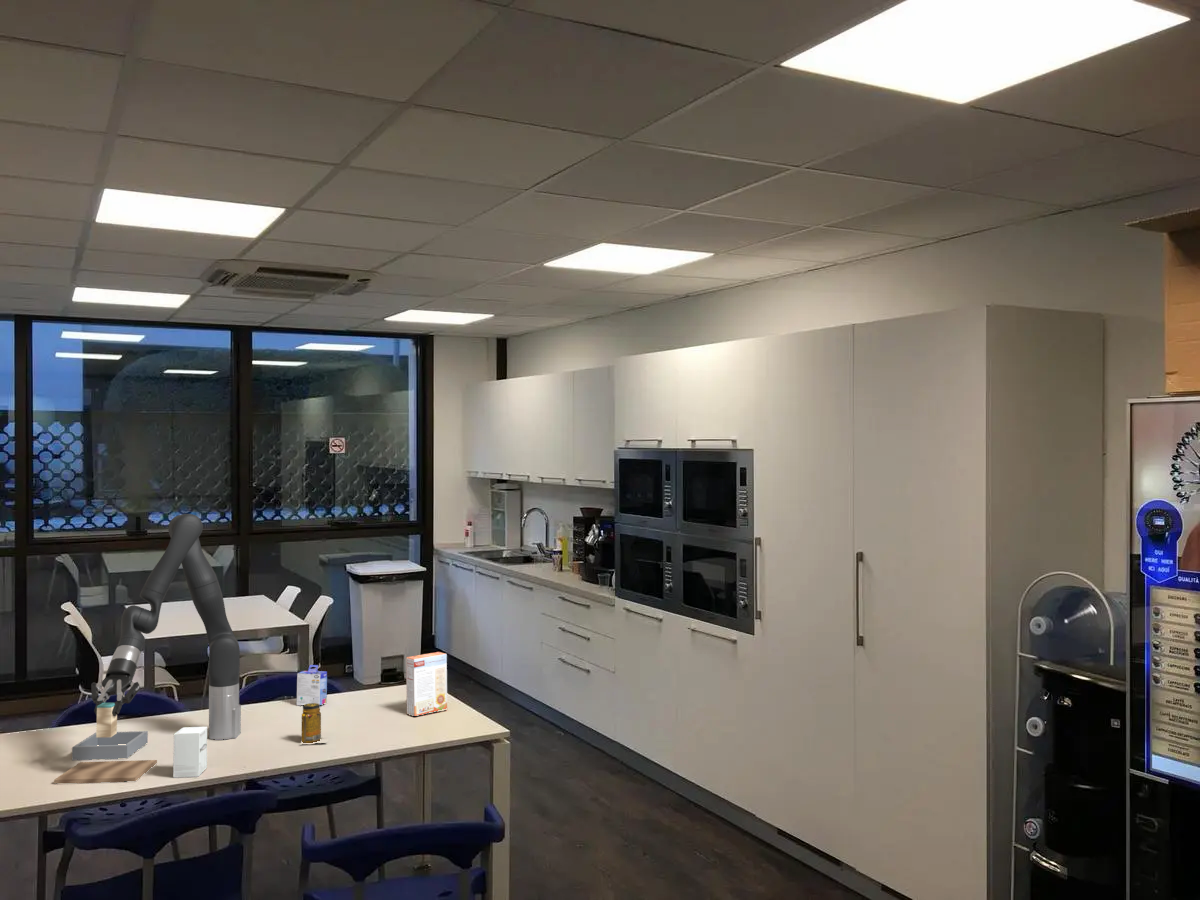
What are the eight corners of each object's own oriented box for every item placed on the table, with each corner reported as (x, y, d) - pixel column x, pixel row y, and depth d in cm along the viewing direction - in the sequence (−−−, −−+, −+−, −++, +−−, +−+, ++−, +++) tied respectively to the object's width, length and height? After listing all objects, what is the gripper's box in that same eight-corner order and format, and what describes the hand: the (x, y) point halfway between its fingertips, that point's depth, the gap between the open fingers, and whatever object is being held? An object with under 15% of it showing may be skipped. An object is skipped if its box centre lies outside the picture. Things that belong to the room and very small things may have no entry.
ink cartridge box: (327, 703, 353) (327, 664, 354) (320, 707, 348) (320, 667, 348) (303, 702, 355) (303, 663, 356) (296, 705, 350) (296, 666, 350)
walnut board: (157, 763, 281) (157, 759, 281) (135, 781, 265) (135, 777, 265) (80, 766, 279) (80, 762, 279) (53, 784, 263) (53, 779, 263)
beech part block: (116, 733, 275) (117, 702, 275) (110, 737, 271) (111, 705, 271) (102, 733, 274) (103, 702, 274) (96, 737, 270) (96, 706, 270)
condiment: (302, 739, 307) (302, 702, 307) (328, 738, 308) (329, 701, 308) (298, 745, 300) (298, 708, 300) (326, 744, 301) (326, 707, 301)
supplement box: (199, 777, 269) (199, 733, 269) (172, 778, 268) (172, 733, 269) (207, 769, 276) (208, 726, 277) (181, 769, 276) (182, 726, 276)
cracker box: (438, 707, 347) (438, 651, 347) (447, 711, 342) (447, 653, 343) (405, 714, 337) (405, 656, 338) (414, 717, 333) (414, 658, 333)
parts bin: (147, 743, 302) (147, 731, 302) (127, 758, 286) (127, 745, 286) (95, 744, 301) (95, 732, 301) (72, 760, 285) (72, 747, 285)
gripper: (95, 657, 281) (75, 708, 268) (145, 656, 282) (127, 707, 270) (103, 671, 286) (83, 721, 274) (151, 670, 287) (134, 721, 275)
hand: (105, 714), depth 272 cm, fingers closed on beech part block, 4 cm apart
